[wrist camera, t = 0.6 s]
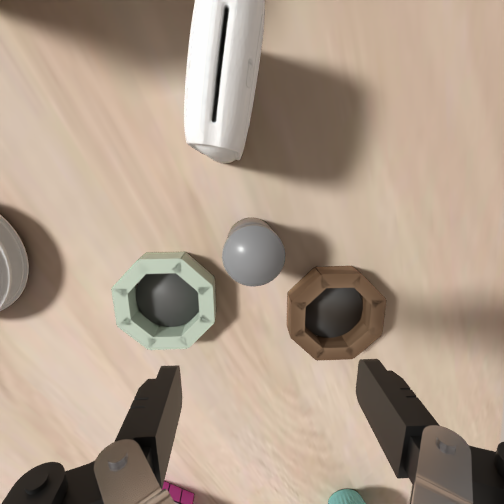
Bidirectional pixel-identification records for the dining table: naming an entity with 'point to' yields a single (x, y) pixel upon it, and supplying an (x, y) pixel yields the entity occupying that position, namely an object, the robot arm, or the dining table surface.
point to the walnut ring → (335, 313)
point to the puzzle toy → (179, 494)
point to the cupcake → (346, 497)
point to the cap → (253, 253)
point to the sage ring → (165, 300)
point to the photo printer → (222, 75)
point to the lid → (11, 265)
